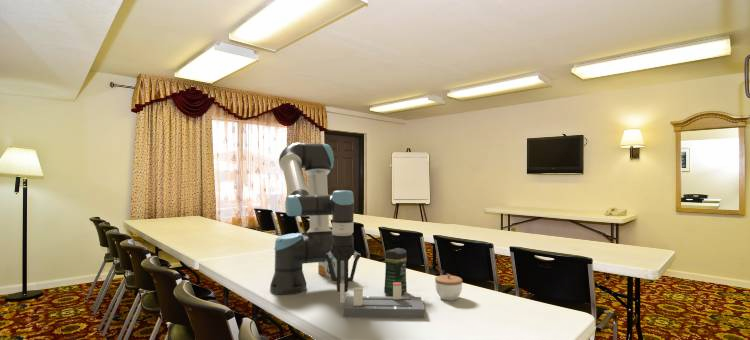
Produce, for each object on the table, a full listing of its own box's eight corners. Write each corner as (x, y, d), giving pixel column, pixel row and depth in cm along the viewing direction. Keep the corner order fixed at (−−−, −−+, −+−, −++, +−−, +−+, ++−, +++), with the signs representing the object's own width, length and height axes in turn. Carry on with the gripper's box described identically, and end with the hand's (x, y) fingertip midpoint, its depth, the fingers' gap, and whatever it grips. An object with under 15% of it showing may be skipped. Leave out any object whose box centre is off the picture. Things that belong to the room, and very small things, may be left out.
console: (342, 317, 125) (342, 308, 125) (346, 303, 139) (347, 295, 139) (424, 318, 125) (424, 309, 125) (420, 304, 138) (420, 296, 138)
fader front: (353, 305, 127) (353, 289, 127) (354, 303, 130) (354, 287, 130) (362, 305, 127) (362, 289, 127) (362, 303, 130) (362, 287, 130)
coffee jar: (397, 298, 145) (398, 251, 146) (381, 294, 150) (381, 249, 150) (409, 292, 153) (409, 247, 154) (393, 288, 158) (393, 245, 158)
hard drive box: (317, 273, 182) (317, 233, 183) (330, 271, 188) (330, 232, 188) (336, 280, 171) (336, 237, 171) (349, 277, 176) (349, 235, 177)
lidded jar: (429, 298, 146) (429, 274, 146) (444, 292, 154) (444, 269, 154) (453, 304, 138) (453, 279, 139) (467, 297, 146) (467, 274, 146)
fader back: (393, 299, 134) (393, 284, 134) (393, 297, 136) (393, 282, 136) (401, 299, 134) (401, 284, 134) (401, 297, 136) (401, 282, 136)
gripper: (322, 235, 126) (322, 304, 125) (360, 235, 125) (360, 305, 125) (326, 232, 133) (325, 297, 132) (361, 232, 133) (361, 297, 132)
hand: (342, 301), depth 129 cm, fingers closed
